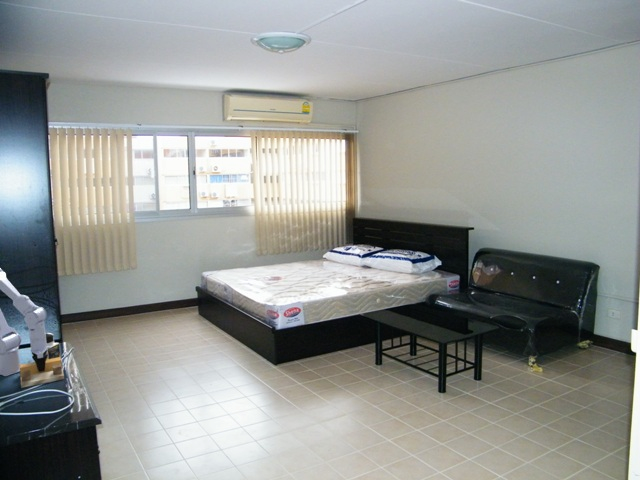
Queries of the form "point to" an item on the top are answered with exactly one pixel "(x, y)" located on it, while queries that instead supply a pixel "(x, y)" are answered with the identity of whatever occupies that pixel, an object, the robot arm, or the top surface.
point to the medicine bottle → (52, 347)
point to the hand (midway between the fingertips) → (41, 369)
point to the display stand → (41, 377)
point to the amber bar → (34, 369)
